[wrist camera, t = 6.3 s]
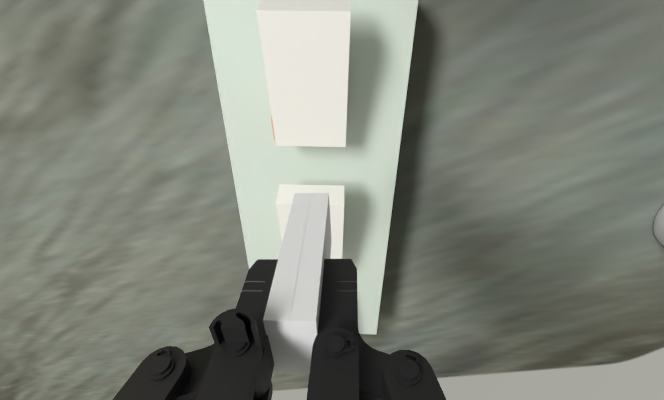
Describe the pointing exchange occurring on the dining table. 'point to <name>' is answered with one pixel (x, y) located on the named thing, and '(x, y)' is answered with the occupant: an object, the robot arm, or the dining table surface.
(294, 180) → the switch unit
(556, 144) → the dining table surface
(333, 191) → the rocker middle
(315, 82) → the block
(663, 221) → the mug
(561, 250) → the dining table surface
